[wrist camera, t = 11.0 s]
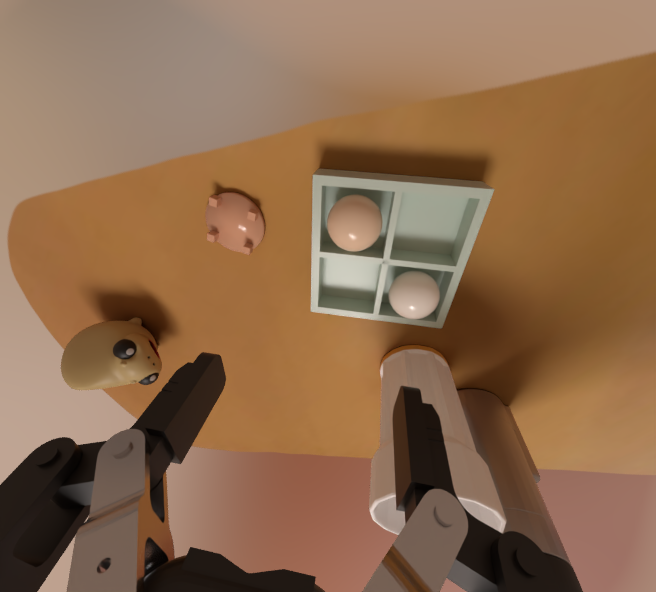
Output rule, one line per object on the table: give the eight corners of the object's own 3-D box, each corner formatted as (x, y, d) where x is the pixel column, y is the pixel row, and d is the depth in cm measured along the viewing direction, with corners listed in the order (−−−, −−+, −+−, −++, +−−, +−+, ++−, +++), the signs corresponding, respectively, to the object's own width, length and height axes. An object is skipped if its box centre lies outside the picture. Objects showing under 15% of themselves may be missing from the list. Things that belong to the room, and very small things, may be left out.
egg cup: (270, 204, 28) (264, 209, 27) (260, 257, 32) (255, 263, 30) (209, 182, 28) (201, 186, 26) (207, 238, 31) (199, 244, 30)
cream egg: (444, 271, 29) (455, 298, 25) (420, 306, 32) (427, 335, 27) (400, 255, 28) (404, 279, 24) (380, 292, 31) (381, 319, 27)
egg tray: (482, 181, 24) (494, 189, 22) (436, 312, 32) (441, 328, 30) (319, 168, 25) (312, 174, 23) (315, 296, 34) (310, 311, 31)
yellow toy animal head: (192, 354, 44) (146, 414, 35) (130, 354, 46) (73, 410, 37) (162, 304, 38) (99, 360, 30) (94, 307, 41) (18, 360, 32)
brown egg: (386, 191, 25) (387, 206, 21) (378, 241, 28) (377, 264, 24) (332, 186, 26) (323, 200, 22) (330, 236, 28) (321, 257, 24)
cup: (421, 323, 34) (454, 480, 19) (474, 373, 37) (534, 538, 23) (355, 363, 39) (343, 507, 25) (406, 403, 42) (420, 550, 28)
